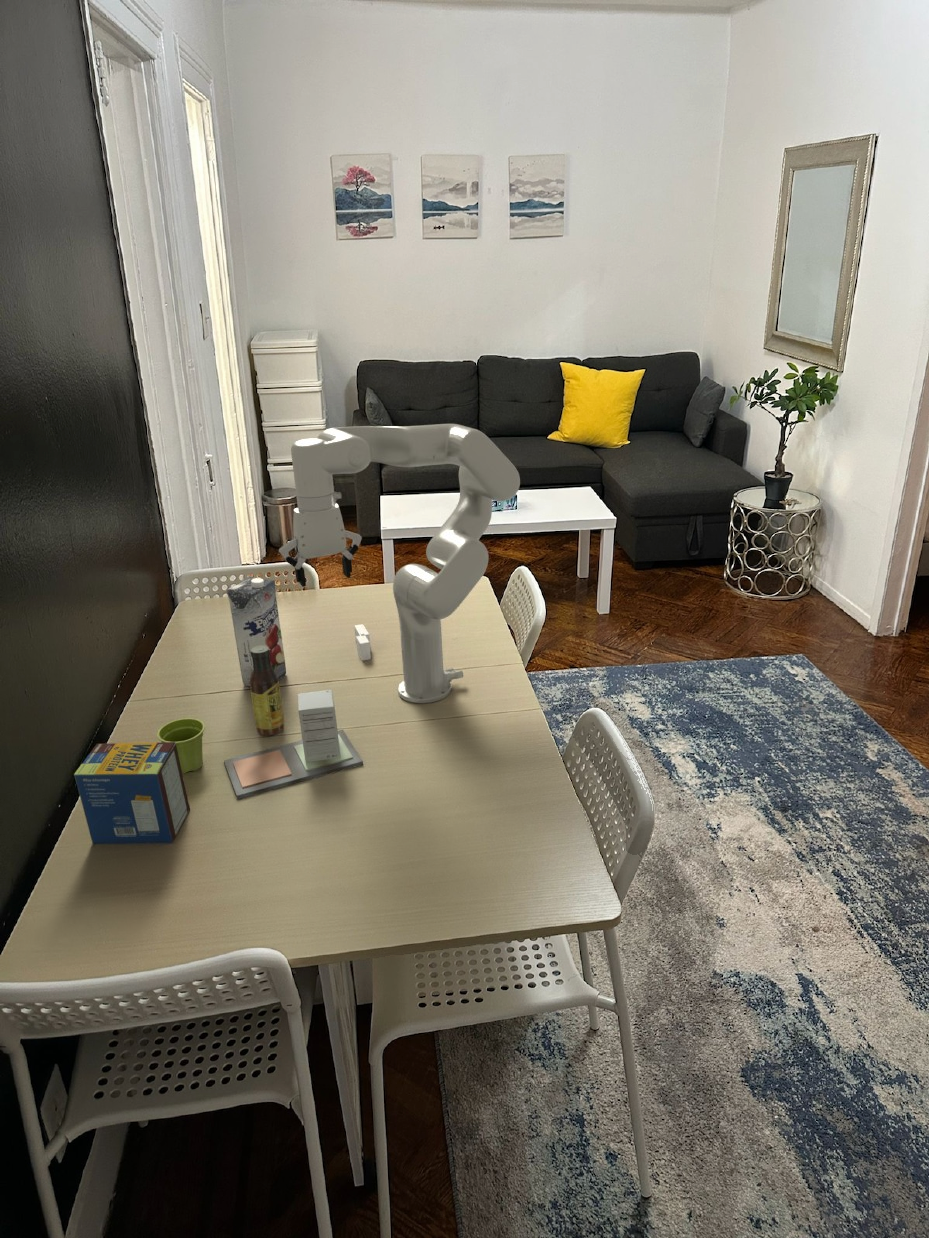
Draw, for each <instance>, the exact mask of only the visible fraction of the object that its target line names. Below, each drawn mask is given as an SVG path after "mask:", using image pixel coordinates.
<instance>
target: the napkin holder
mask: <svg viewBox="0 0 929 1238" xmlns="http://www.w3.org/2000/svg"><path fill="white" fill-rule="evenodd" d="M353 628H354V635H355V644H356V648H357V651H356V652H357V655H358V657H359V658H360V660H361V661H362V662H363V661H367V660H371V659H372V657H371V650H372V649H371V639H370V633H369V632H368V630H367V629H366V627H365V625H364V624H363V623H362V624H357V625H356V624H355V625H354V626H353Z"/></svg>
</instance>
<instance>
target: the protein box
mask: <svg viewBox="0 0 929 1238" xmlns="http://www.w3.org/2000/svg"><path fill="white" fill-rule="evenodd" d="M73 776H74V779H75V783H76V787H77V791H78V794H79V797H80V802H81V805H82V809H83V812H84V816H85V820H86V824H87V828H88V831H89V832H88V833H89V836H90V839H91V843H92V845H104V844H105V845H110V844H111V845H113V844H114V845H115V844H117V845H118V844H124V845H126V844H132V845H133V844H173V843H174V840H175V838H176V837H177V835H178V833H179V831H180V829H181V828H182V825H183V824H184V822H185V820H186V818H187V816H188V815H189V812H190V811H191V808H190V803H189V798H188V793H187V789H186V784H185V779H184V775H183V773H182V770H181V765H180V760H179V756H178V751H177V746H176V743H175V742H161V741H160V742H120V743H118V742H116V743H96V744H95V746H94V747H93V748H92V750H91V751H90V753H88V755H87V756H86V758H85V759H84V760H83V762H82V763H81V764H80V766H79V767H78V768H77V769H76V770H75V772H74V773H73Z"/></svg>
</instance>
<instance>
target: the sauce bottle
mask: <svg viewBox="0 0 929 1238" xmlns="http://www.w3.org/2000/svg"><path fill="white" fill-rule="evenodd" d="M250 652H251V657H252V660H253V668H254V669H253V672H252V673H251V676H250V685H251V687H250V694H251V695H250V696H251V703H252V709H253V716H254V723H255V724H254V725H255V727H256V731H257V733H258V734H259V735H262V736H274V735H277V734H280V733H281V732H282V731H283V730H284V726H285V725H284V724H285V719H284V711H283V710H284V709H283V703H282V695H281V689H280V688H281V687H280V679H279V680H278V678H277V676H276V674H275V672H274V670H273V668H272V667H271V663H270V650H269V647H267V646H264V645H261V646H256V647H253V648H252V649H251V650H250Z"/></svg>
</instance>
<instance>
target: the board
mask: <svg viewBox="0 0 929 1238" xmlns="http://www.w3.org/2000/svg"><path fill="white" fill-rule="evenodd" d="M338 738H339V747H340V758H335V759H328V760H320V761H313V762H306V761H305V754H304V748H303V741H302V739H301V740H298V741H297V740H296V741H293V742H290V743H285V744H282V745H277V746H273V747H270V748H265V749H262V750H259V751H255V752H251V753H247V754H243V755H239V756H234V757H231V758H227V759H223V763H224V766H225V769H226V772H227V775H228V778H229V779H230V783H231V786H232V787H233V791H234V794H235V796H236V799H238V800H239V799H242V798H246V797H251V796H253V795H257V794H261V793H264V792H268V791H271V790H275V789H279V788H282V787H285V786H289V785H290V786H291V785H295V784H297V783H300V782H304V781H308V780H311V779H315V778H319V777H323V776H325V775H330V774H334V773H337V772H340V771H344V770H348V769H351V768H355V767H359V766H362V765H364V761H363V759H362V757H361V756H360V755H359V753H358V751H357V750H356V748H355V747H354V745H353V743H352V742H351V740H350V738H349V736H348V735H347V733H346V732H345V730H344V729H340V730H338Z"/></svg>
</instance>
